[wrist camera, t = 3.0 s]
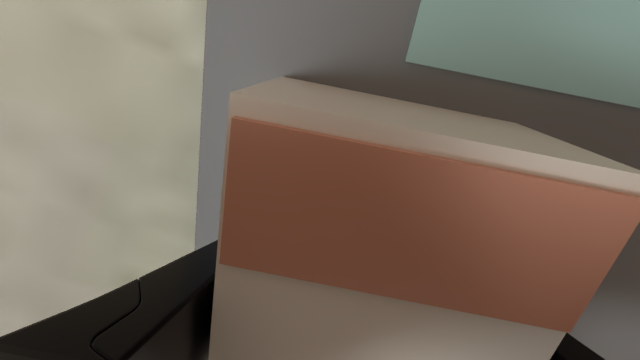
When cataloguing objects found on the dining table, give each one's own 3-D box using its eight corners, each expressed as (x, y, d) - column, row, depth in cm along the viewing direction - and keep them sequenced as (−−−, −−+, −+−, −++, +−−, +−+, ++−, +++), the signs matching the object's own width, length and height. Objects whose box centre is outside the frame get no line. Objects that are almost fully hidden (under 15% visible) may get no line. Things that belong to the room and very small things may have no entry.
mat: (616, 410, 12) (629, 427, 11) (196, 327, 12) (189, 341, 11) (1305, -467, 5) (1435, -538, 4) (254, -685, 5) (242, -781, 4)
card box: (413, 372, 11) (449, 534, 8) (246, 339, 11) (196, 485, 7) (515, 122, 8) (672, 182, 4) (281, 76, 8) (225, 93, 4)
